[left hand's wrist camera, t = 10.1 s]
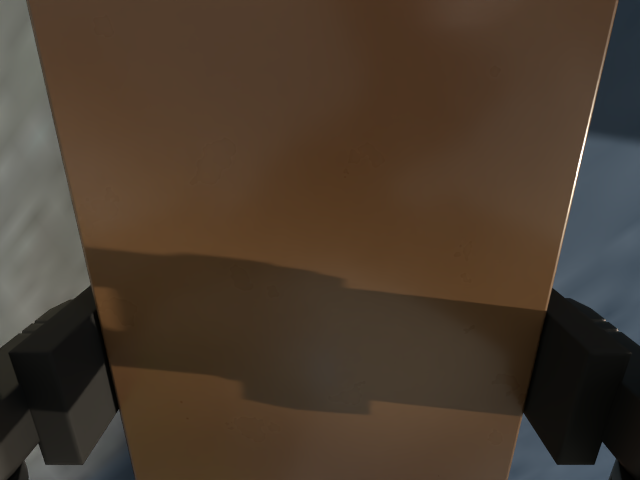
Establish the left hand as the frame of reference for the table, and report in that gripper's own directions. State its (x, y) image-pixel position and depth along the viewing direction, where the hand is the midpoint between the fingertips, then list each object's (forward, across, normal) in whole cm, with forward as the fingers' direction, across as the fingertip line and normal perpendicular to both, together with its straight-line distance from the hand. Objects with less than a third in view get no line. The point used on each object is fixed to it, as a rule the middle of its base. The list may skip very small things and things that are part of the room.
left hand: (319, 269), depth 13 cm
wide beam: (+1, 0, -32) cm, 32 cm away
